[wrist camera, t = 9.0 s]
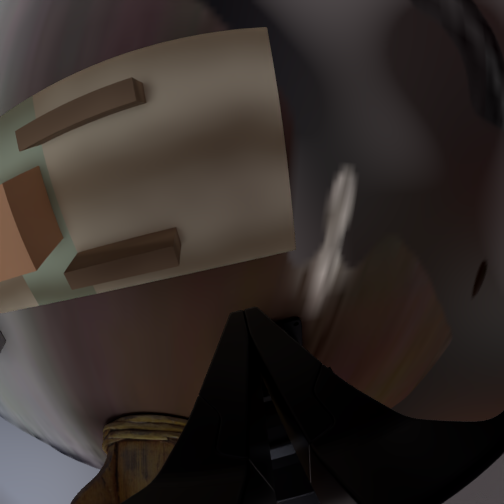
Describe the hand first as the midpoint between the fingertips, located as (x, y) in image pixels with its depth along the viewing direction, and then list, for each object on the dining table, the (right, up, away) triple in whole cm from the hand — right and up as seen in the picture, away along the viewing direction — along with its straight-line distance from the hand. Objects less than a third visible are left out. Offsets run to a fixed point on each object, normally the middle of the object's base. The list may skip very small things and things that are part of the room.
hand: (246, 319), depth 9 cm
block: (-15, +5, +5) cm, 16 cm away
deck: (-12, +7, +7) cm, 16 cm away
